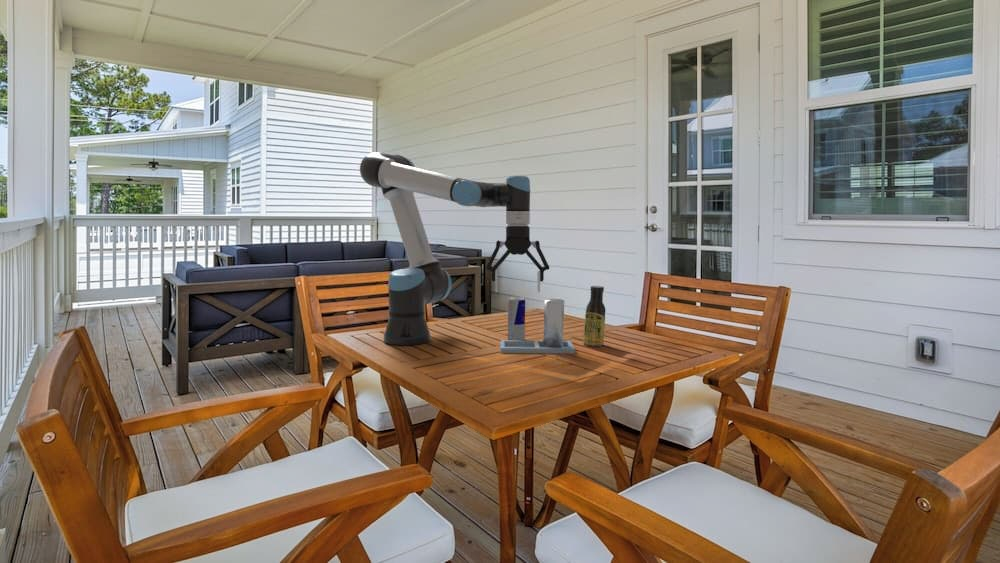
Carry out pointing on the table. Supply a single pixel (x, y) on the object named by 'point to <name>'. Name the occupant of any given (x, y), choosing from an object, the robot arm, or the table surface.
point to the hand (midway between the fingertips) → (517, 291)
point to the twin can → (553, 323)
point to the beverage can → (516, 318)
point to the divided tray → (533, 347)
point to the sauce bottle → (595, 319)
